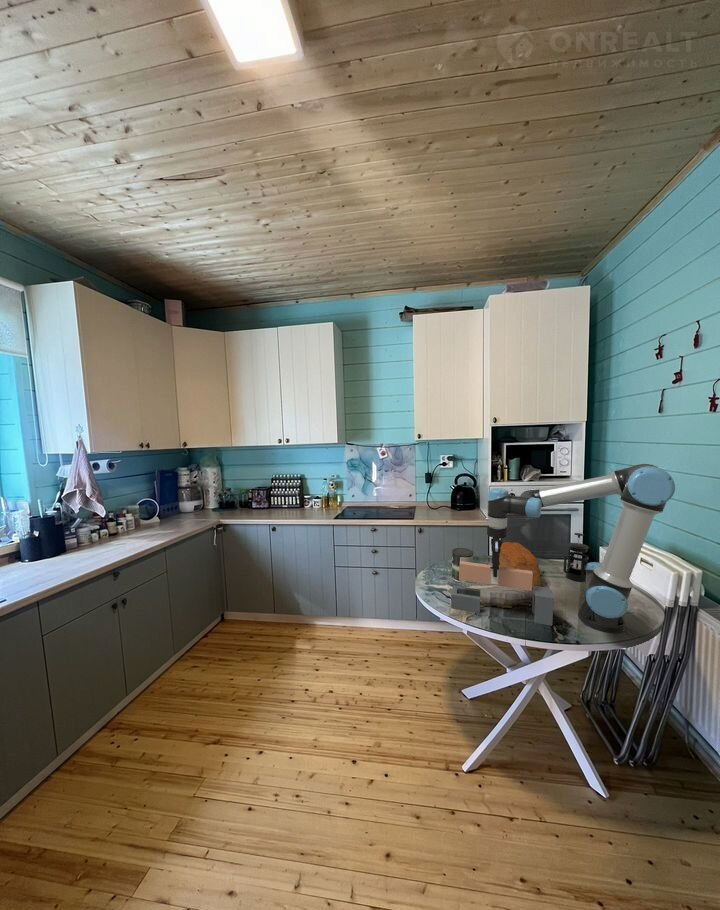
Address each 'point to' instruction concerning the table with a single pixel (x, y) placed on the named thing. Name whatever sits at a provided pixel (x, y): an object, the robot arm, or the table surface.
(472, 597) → the far end cap
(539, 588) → the cap
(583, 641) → the table surface
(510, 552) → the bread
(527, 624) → the table surface
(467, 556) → the coffee can
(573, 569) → the french press
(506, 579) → the slat
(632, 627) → the table surface
